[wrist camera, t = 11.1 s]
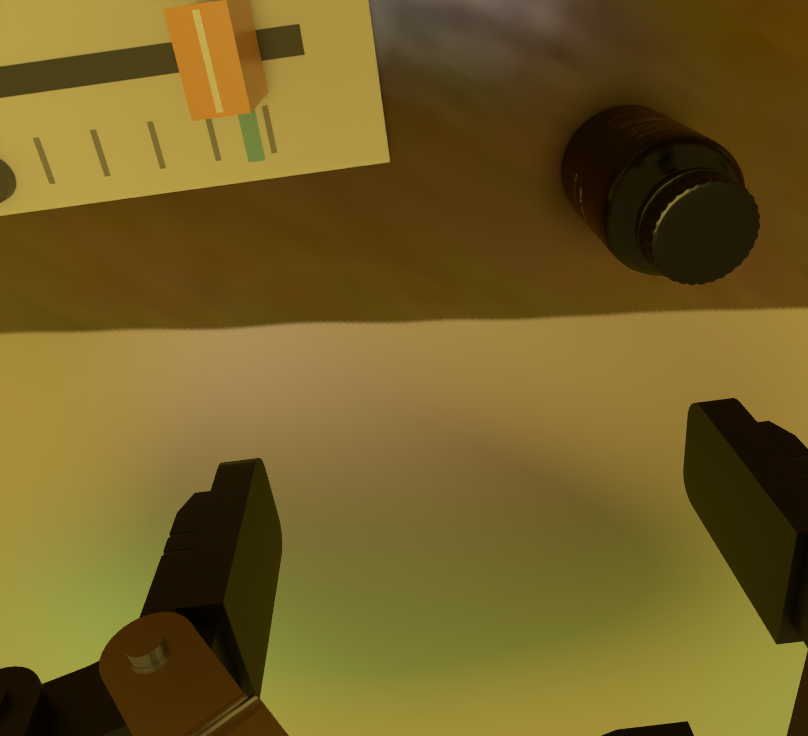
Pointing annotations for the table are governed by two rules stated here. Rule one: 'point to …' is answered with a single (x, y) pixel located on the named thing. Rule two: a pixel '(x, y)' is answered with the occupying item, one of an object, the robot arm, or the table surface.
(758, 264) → the table surface
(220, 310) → the table surface
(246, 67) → the fader cap
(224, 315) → the table surface
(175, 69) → the console
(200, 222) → the table surface
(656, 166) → the supplement bottle
